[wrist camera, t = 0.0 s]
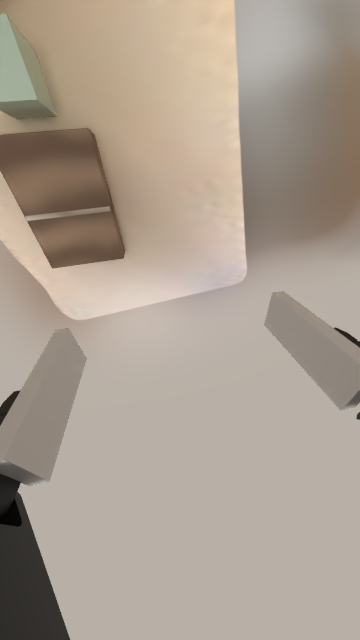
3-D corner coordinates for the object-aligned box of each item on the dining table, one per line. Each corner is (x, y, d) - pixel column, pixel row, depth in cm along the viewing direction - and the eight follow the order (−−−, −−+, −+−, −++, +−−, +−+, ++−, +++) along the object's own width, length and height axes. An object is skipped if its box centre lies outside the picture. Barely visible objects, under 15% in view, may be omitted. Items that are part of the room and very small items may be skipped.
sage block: (-11, 54, 20) (-56, 15, 16) (36, 52, 21) (5, 13, 16) (17, 119, 24) (-14, 102, 19) (57, 116, 24) (37, 99, 19)
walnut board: (2, 142, 24) (-19, 136, 21) (94, 135, 25) (87, 127, 22) (60, 260, 34) (52, 268, 31) (124, 251, 35) (123, 258, 32)
